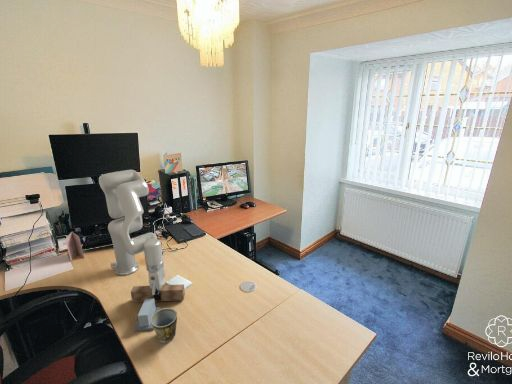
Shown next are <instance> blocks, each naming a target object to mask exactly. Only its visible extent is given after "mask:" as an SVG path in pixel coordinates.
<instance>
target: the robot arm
mask: <svg viewBox="0 0 512 384" xmlns="http://www.w3.org/2000/svg"><path fill="white" fill-rule="evenodd" d="M98 183H99V186H100V189H101V190H102V192H103V193H104V196H105V201H106V207H107V211H108V214H109V217H110V218H111V219H114V220H112V221H110V222H109V223H108V226H107V230H108V233H109V235H110V238H111V241H112V245H113V246H112V247H113V250H114V256H115V262H110V269H114V272H115V274H116V276H129V275H131V274H133V273H135V272H136V271H138V270H139V268H140V264H139V262H137V261H136V258H135V256H136V255H137V254H141V253H143V252H144V254H143V255H144V259H145V260H144V262H145V267H146V271H147V272H148V286H150V290H151V291H152V295H154V300H155V302H161V301H160V300H161V293H160V290H161V289H162V286H163V285H165V280H166V272H165V265H164V264H165V263H164V257H163V249H162V247H163V246H162V243H161V240H160V239H158V238H157V235H156V234H155V233H153V232H147V233H144V234H141V235H138V236H134V237H131V236H130V234H132V233H134V232H138V231H139V230H141V229H143V225H144V224H143V214H144V211H145V210H144V207H143V205H142V203H141V201H140V198H142V197H146V196H148V195H149V192H150V189H149V185H148V183H147V182H146V181H145V179H144V178H143V177H142V176H141V175H140V174H139V173H138V171H136V170H134V169H126V170H120V171H114V172H107V173H103V174H101V175H100V176H99V178H98ZM156 290H158V292H157V291H156Z"/></svg>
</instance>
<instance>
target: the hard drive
mask: <svg viewBox="0 0 512 384" xmlns="http://www.w3.org/2000/svg"><path fill="white" fill-rule="evenodd" d="M183 284H184V291H186V290H187V289H189V288H190V287H191V286H193V285H194V283H193V282H192V281H190V280H188V279H187V278H185V277H183V276H181V275H179V274H176V275H175V276H173V277H171V278H170V279H169V280H167V281H166V282H165V285H183Z"/></svg>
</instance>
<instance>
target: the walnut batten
mask: <svg viewBox="0 0 512 384" xmlns="http://www.w3.org/2000/svg"><path fill="white" fill-rule="evenodd" d="M156 291H157V292H158V290H156ZM185 291H186V290H184V284H183V285H167V284H163V286H162V289H161V290H160V293H161V300H160V301H159V302H168V301H169V302H170V301H172V302H173V301H184V299H185V295H186V294H185ZM130 294H131V295H130V297H131V302H132V303H144V301H145V299H154V295H152V291H151V290H150V286H149V285H134V286H132V289H131V290H130Z"/></svg>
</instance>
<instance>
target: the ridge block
mask: <svg viewBox="0 0 512 384" xmlns="http://www.w3.org/2000/svg"><path fill="white" fill-rule="evenodd" d="M161 309H162V307H159V306H157V307H156V301H155V300H154V299H145V301H144V302H142V305H141V307H140V310H139V312H138V314H137V319H138V320H137V321H136V323H135V326H134V328H133V331H134V332H144V331H146V332H147V331H155V330H154V328H153V326H152V323H151V318H152V316H153V315H154V314H155V313H156V312H157V311H159V310H161Z"/></svg>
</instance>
